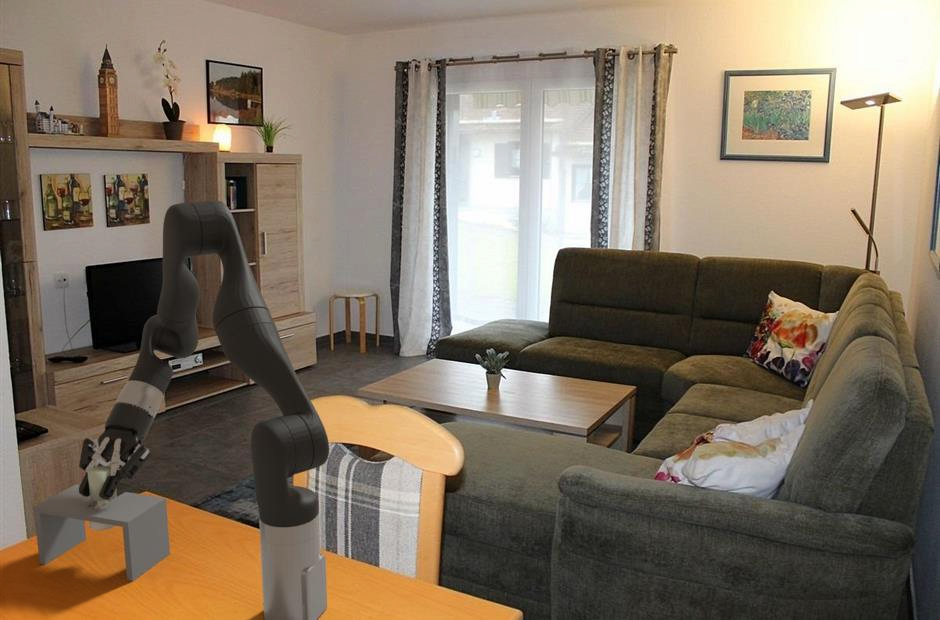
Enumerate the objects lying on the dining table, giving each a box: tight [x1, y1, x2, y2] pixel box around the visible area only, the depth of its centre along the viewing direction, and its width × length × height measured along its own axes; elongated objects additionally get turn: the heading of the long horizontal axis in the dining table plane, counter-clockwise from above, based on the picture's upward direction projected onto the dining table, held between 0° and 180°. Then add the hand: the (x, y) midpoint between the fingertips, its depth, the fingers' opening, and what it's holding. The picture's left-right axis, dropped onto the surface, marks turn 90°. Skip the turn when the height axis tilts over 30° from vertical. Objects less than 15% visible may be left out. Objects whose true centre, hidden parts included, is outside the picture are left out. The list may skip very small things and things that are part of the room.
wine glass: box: [88, 465, 116, 532], centre depth 143 cm, size 5×5×10 cm
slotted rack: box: [33, 483, 171, 582], centre depth 144 cm, size 20×10×11 cm, turn 73°
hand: (93, 496), depth 141 cm, fingers closed on wine glass, 3 cm apart
